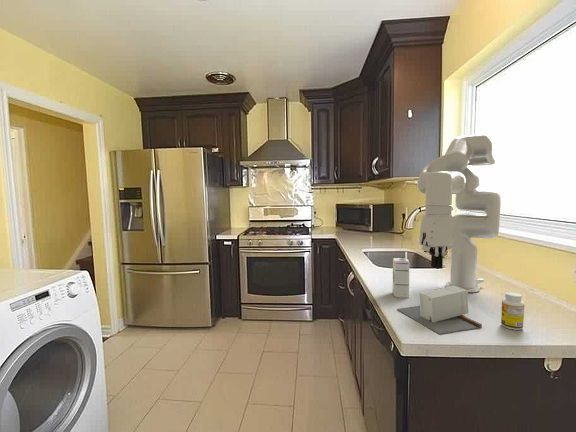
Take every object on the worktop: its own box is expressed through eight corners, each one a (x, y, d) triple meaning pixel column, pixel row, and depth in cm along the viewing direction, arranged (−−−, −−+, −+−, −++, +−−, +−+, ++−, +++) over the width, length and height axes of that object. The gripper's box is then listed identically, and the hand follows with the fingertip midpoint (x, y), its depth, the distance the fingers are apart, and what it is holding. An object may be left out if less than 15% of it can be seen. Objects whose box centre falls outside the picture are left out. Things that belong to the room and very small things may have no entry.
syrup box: (409, 298, 122) (410, 261, 121) (393, 297, 123) (394, 260, 122) (406, 293, 127) (407, 258, 126) (391, 292, 129) (392, 257, 127)
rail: (433, 305, 114) (433, 301, 114) (481, 327, 95) (481, 324, 95) (431, 305, 114) (431, 302, 114) (479, 328, 95) (479, 324, 95)
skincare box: (454, 285, 107) (418, 291, 103) (469, 290, 101) (432, 296, 97) (454, 308, 108) (418, 315, 103) (469, 315, 102) (432, 323, 98)
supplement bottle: (501, 321, 100) (503, 290, 99) (523, 326, 96) (525, 293, 95) (499, 327, 95) (501, 294, 95) (522, 332, 92) (524, 298, 91)
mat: (430, 305, 114) (430, 304, 114) (477, 328, 95) (477, 327, 95) (396, 309, 110) (396, 308, 110) (439, 334, 91) (439, 333, 91)
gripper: (448, 209, 105) (446, 262, 107) (410, 211, 101) (409, 267, 103) (466, 210, 98) (464, 268, 100) (426, 213, 94) (425, 273, 96)
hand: (436, 267), depth 101 cm, fingers closed
